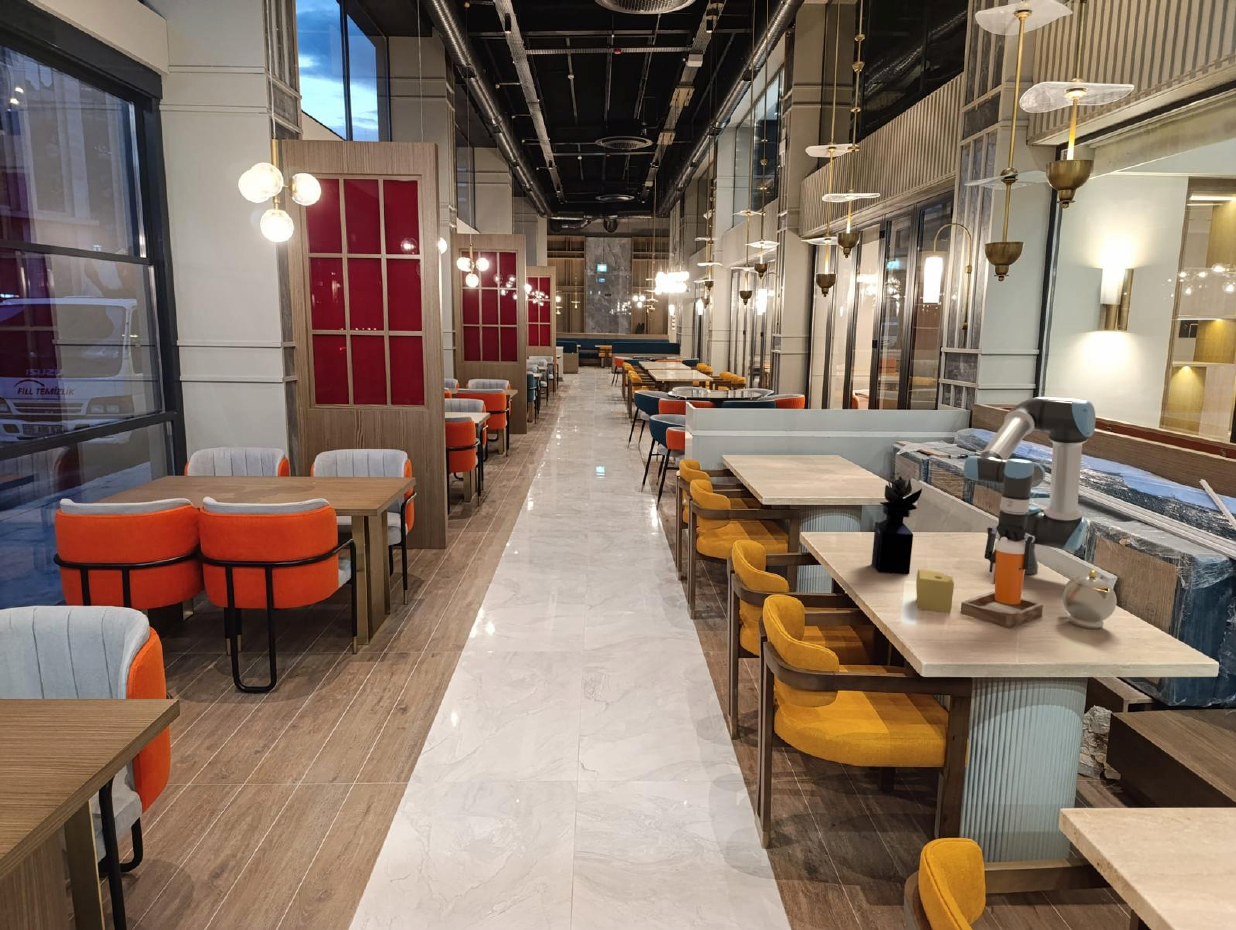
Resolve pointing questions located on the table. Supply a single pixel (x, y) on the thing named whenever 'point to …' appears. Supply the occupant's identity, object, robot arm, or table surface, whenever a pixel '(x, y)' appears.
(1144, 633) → the table surface
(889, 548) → the vase
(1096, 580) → the teapot
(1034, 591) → the table surface
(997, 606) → the tray
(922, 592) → the cheese
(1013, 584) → the shaker bottle
